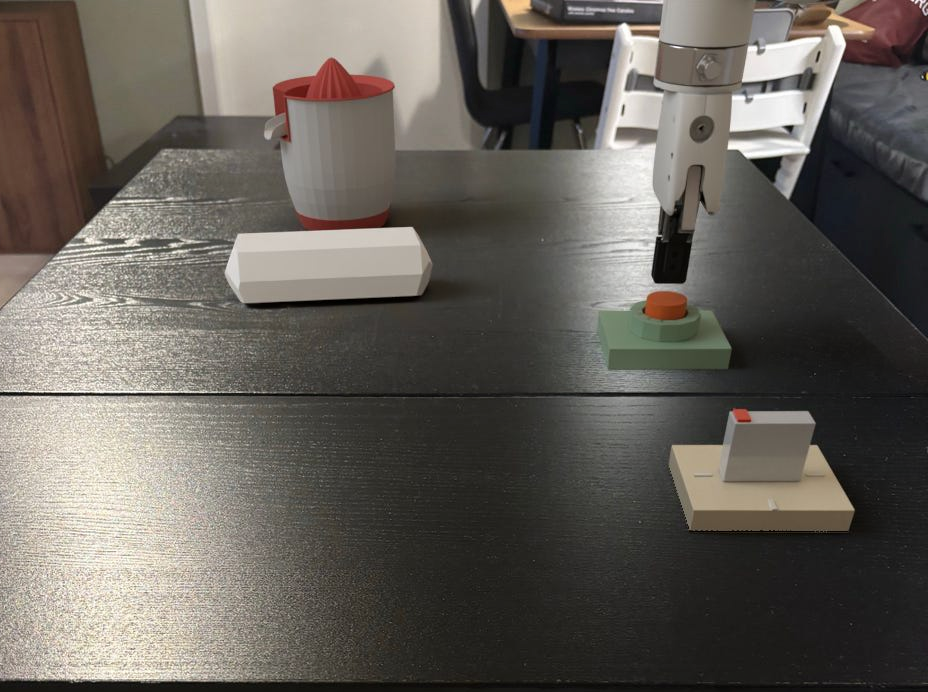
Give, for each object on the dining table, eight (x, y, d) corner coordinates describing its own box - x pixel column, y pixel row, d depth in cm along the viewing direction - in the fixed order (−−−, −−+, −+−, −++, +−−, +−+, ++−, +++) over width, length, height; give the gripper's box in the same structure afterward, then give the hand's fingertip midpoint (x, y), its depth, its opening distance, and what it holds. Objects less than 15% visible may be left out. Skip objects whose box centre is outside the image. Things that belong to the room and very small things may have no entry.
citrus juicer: (263, 217, 133) (242, 53, 120) (379, 203, 138) (371, 43, 125) (291, 251, 122) (271, 74, 109) (416, 234, 127) (411, 62, 114)
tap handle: (793, 468, 74) (809, 407, 71) (800, 481, 73) (816, 420, 69) (717, 468, 74) (730, 408, 71) (723, 481, 73) (735, 420, 70)
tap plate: (811, 465, 79) (817, 442, 77) (848, 533, 71) (856, 509, 70) (668, 465, 79) (671, 442, 78) (689, 533, 71) (694, 508, 70)
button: (681, 307, 96) (683, 290, 95) (688, 322, 93) (690, 305, 92) (642, 307, 96) (644, 290, 95) (647, 322, 93) (649, 305, 92)
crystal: (218, 281, 102) (436, 271, 104) (218, 229, 105) (431, 221, 106) (230, 325, 109) (434, 316, 111) (230, 275, 112) (430, 267, 113)
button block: (708, 330, 101) (715, 293, 98) (728, 369, 93) (735, 330, 91) (596, 330, 101) (600, 293, 98) (607, 369, 93) (611, 330, 91)
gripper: (763, 83, 75) (721, 309, 87) (725, 51, 86) (692, 255, 98) (670, 83, 75) (640, 309, 87) (643, 51, 87) (620, 255, 98)
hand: (668, 280), depth 93 cm, fingers closed
